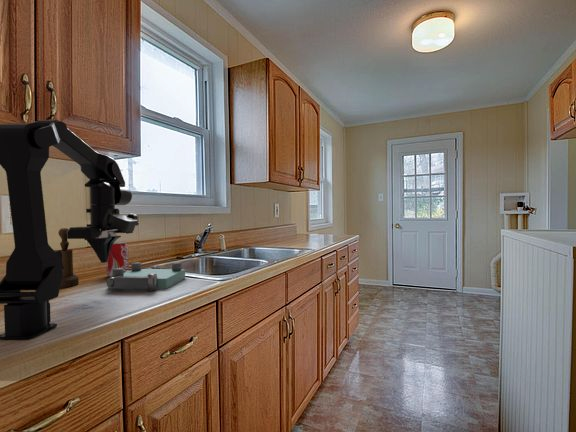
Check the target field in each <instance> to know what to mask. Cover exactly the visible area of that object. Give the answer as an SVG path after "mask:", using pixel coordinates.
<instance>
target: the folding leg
mask: <svg viewBox="0 0 576 432" xmlns="http://www.w3.org/2000/svg"><path fill="white" fill-rule="evenodd" d="M106 286H107V288H108V287H113V288H148V289H147V291H150V292H152V291H156V290H158V289H157V274H155V273H153V274H148V276H117V277H110V276H109V277H107V280H106Z"/></svg>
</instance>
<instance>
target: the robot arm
mask: <svg viewBox="0 0 576 432" xmlns="http://www.w3.org/2000/svg"><path fill="white" fill-rule="evenodd" d="M52 146H53V147H54V148H55V149H57V150H58V151H60V152H61V153H62V154H64V155H66V156H67V157H68V158H69V159H70V160H73V161H74V162H75V163H76V164H78V165H79V166H80V172H81V173H82V174H83V175H84V176H85V177H87V179H88V181H86V183H84V187H85V188H89V205H90V206H89V208H86V210H85V211H86V213H89V215H90V223H88V224H86V226H73V227H71V226H70V227H69V228H68V231H67V240H76V239H78V240H81V239H82V240H83V239H84V241H86V242H87V243H88V245H90V247H91V248H92V249H93V251H94V253H95V255H96V256H97V258H98V260H99V262H100V263H102V264H104V263H105V264H106V262H107V260H108V257H109V254H110V251H111V248H112V245H113V243H114V242H117V240H118V239H120V238H121V237H122V235H117V234H133V233H134V231H135V228H136V226H139V218H138V215H137V214H135V213H129V214H127V215H123V214H120V209H119V208H115V207H116V206H126V205H128V204H129V203H131V201H132V199H133V194H132V192H131V190H130V189H129V188H128V187H126V182H125V179H124V176H123V174H122V171H121V169H120V167H119V163H117V161H116V160H115V159H114V158H112V157H110V156H109V155H107V154H103V153H100V152H97V151H96V150H94V149H93V148H92V147H91V146H89V145H88V144H87V143H86V142H84V141H83V140H82V139H81V138H80V137H79V136H78V135H76V134H75V133H74V132H73V131H71V129H69V128H68V126H67V124H66V123H65V122H64V121H63V120H62V121H61V120H59V119H39V120H36V121H33V122H29V123H27V122H25V123H22V122H21V123H20V122H19V123H15V122H14V123H13V122H12V123H10V122H9V123H0V166H1V168H2V169H3V170H4V172H5V174H6V182H7V190H8V200H9V207H10V208H9V209H10V216H11V217H10V218H11V224H12V225H11V226H12V234H13V242H14V248H13V250H12V252H11V254H10V255H9V257H8V259H7V260H6V262H5V275H4V277H3V278H2V279H1V280H0V304H1V305H3V315H4V316H3V317H4V318H3V319H4V332H3V333H1V334H0V340H1V339H3V340H29V339H33V338H34V337H37V336H39V335H41V334H43V333H45V332H48V331H49V330H52V329H54V328H56V327H58V323H51V303H50V300H51V301H52V300H54V299H55V298H58V297H59V295H60V294H59V293H60V289H61V288H60V286H61V281H62V277H63V271H62V270H64V266H63V263H62V253H61V251H60V250H61V249H59V250H57V249H56V250H54V249H53V248H52V246H50V244H49V240H48V231H47V230H48V229H47V221H46V212H45V201H44V193H43V186H42V185H43V184H42V175H41V173H42V170H43V168H44V166H45V165H46V163H47V162H48V160H49V157H50V147H52Z"/></svg>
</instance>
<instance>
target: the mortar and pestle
mask: <svg viewBox="0 0 576 432" xmlns="http://www.w3.org/2000/svg"><path fill="white" fill-rule="evenodd" d="M68 229H69V228H67V227H62V228H60V229H59V231H58V232H57V234H58V236H59V237H60V239H61V242H60V243H59V245H60V248H61V249H59V250H60V251H61V253H62V263H63V266H64V270H62V271H63V277H62V281H61V286H60V289H62V288H63V289H64V288H70V287H75V286H77V285H79V276H77V275H76V274H74V259H73V254H74V253H73V252H74V251H73V249H69V244H70V242H69V241H68V239H67V231H68Z"/></svg>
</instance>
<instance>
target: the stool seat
mask: <svg viewBox="0 0 576 432" xmlns="http://www.w3.org/2000/svg"><path fill="white" fill-rule="evenodd" d="M130 265H131V266H130V267H131V268H130V269H129V271H128V272H125V273H124V268H115V269H112V276H113V277H117V276H148V274H153V273H155V274H157V290H158V289H159V290H160V289H164V290H166V289H168V288H170V287H172V286H174V285H176V284H177V283H179V282H181V281H182V280H184V279H186V269H182V267H183V266H182V262H181V261H175V262H171V268H162V269H161V268H160V269H157V268H156V269H155V268H154V269H152V268H146V269H145V268H143V269H142V262H138V261H137V262H131V263H130ZM107 289H109V290H110V289H112V290H113V289H114V290H115V289H123V290H124V289H125V290H127V289H131V290H133V289H136V290H137V289H139V290H140V289H141V290H142V289H146V290H148V288H113V287H108V286H107Z"/></svg>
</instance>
